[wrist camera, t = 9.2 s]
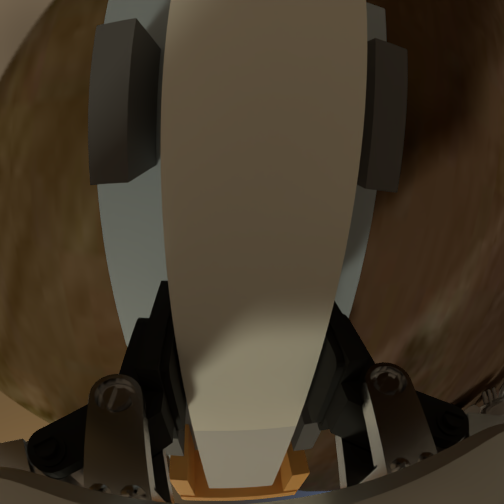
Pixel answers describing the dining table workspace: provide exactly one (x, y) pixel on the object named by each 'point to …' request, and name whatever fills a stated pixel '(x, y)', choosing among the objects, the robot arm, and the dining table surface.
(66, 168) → the dining table surface
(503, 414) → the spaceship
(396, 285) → the dining table surface
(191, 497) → the clip rail
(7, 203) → the dining table surface
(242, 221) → the long cream stick
